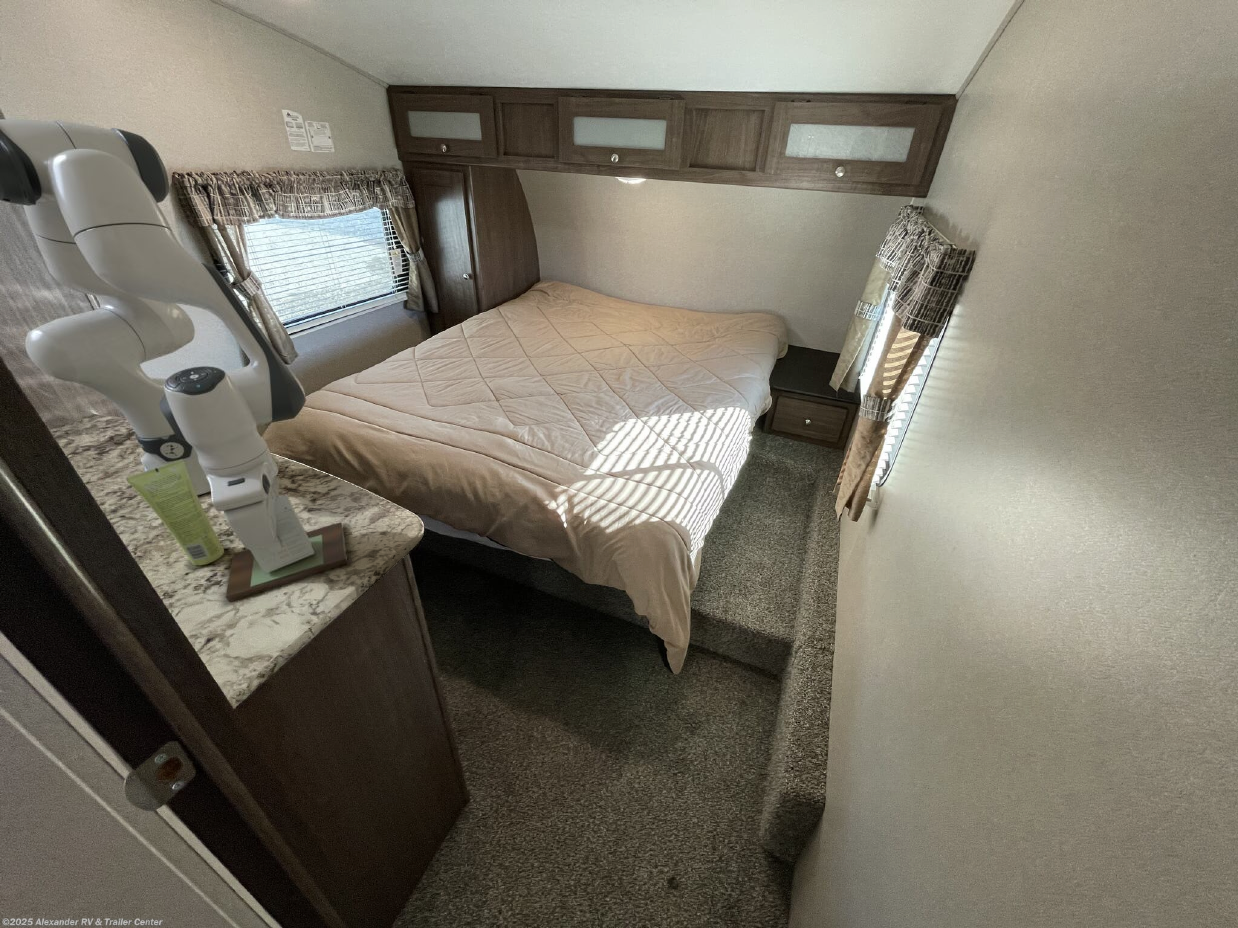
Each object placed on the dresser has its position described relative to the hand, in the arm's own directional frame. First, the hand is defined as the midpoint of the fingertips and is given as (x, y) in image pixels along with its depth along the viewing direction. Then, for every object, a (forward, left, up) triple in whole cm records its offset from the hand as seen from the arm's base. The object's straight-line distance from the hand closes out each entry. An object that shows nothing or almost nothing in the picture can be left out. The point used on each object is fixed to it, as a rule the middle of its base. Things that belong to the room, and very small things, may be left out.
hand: (277, 536), depth 85 cm
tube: (-10, -13, -7) cm, 18 cm away
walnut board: (-1, 0, -6) cm, 7 cm away
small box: (0, 0, -5) cm, 5 cm away
